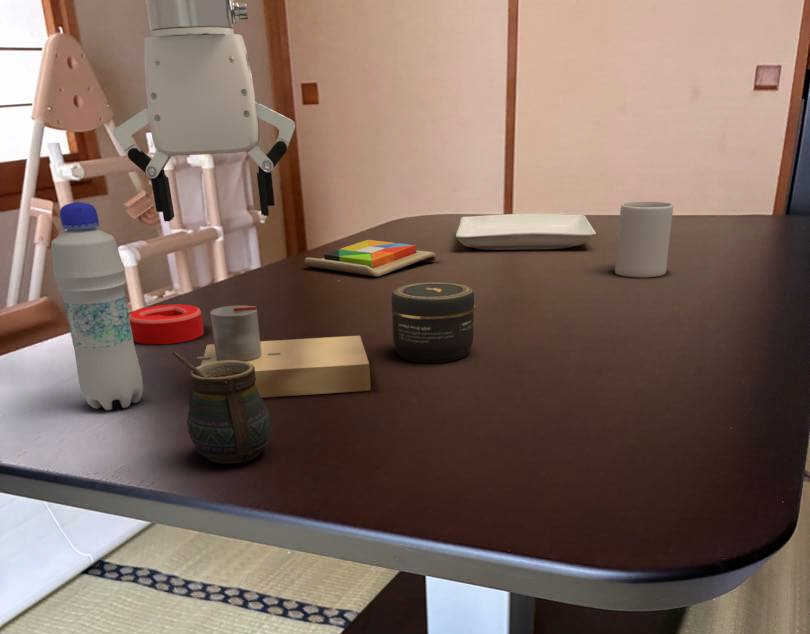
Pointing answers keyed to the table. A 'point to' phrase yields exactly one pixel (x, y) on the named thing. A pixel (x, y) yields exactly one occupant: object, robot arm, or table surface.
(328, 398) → the table surface
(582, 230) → the square plate
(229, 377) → the mate gourd
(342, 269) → the wooden puzzle
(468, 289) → the jar
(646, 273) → the mug
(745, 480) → the table surface
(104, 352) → the bottle
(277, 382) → the wooden peg base
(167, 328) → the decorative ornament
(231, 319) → the cylinder
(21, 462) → the table surface
